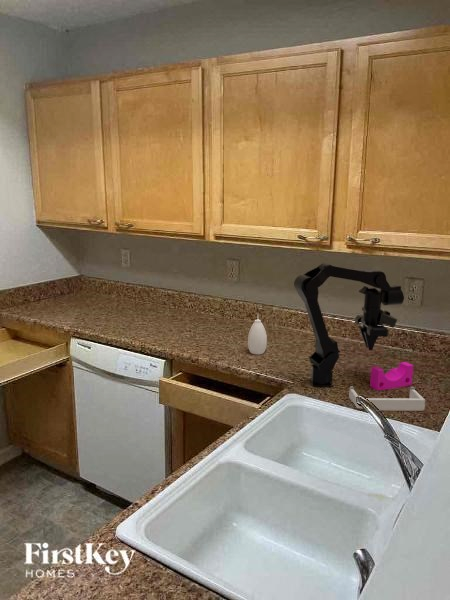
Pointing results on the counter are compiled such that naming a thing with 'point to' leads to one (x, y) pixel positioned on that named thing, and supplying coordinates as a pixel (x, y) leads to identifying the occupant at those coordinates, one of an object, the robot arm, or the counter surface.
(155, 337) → the counter surface
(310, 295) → the robot arm
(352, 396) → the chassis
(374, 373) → the toy block
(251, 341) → the sauce bottle
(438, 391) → the counter surface
